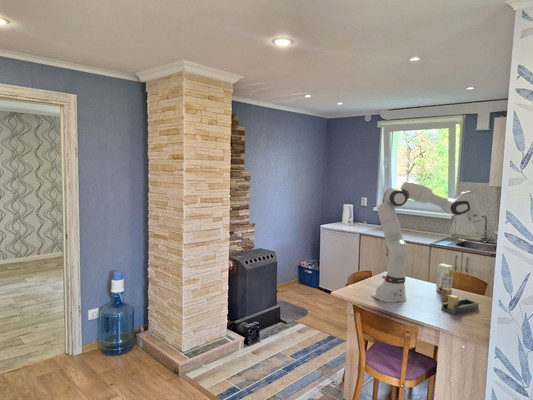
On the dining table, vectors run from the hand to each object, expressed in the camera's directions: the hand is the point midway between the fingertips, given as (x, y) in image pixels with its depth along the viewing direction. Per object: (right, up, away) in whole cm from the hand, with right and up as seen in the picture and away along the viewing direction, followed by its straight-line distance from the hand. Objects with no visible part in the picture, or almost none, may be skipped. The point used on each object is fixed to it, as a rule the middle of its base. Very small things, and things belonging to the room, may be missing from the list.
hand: (479, 235), depth 236 cm
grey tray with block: (-19, -44, -12) cm, 50 cm away
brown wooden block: (-20, -43, +2) cm, 47 cm away
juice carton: (-13, -41, +20) cm, 48 cm away
